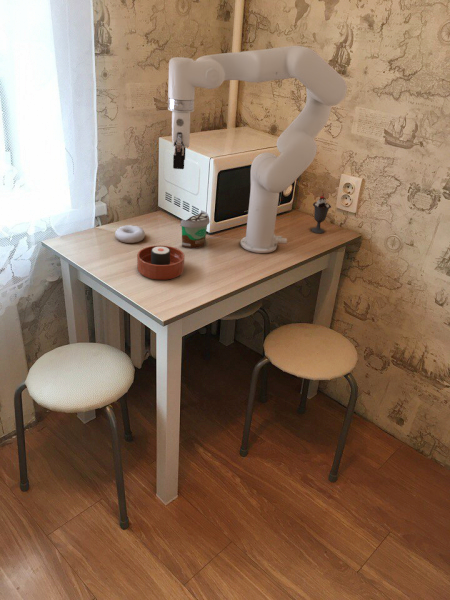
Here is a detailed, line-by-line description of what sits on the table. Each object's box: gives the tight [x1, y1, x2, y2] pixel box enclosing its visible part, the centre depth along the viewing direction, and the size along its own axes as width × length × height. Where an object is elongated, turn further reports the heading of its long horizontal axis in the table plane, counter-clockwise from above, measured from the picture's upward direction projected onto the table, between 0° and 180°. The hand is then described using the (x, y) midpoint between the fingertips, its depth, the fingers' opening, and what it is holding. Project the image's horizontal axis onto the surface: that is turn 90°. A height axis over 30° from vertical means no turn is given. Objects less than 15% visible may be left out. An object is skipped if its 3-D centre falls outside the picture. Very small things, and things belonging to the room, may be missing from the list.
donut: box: [114, 224, 146, 244], centre depth 174 cm, size 10×4×10 cm
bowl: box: [136, 244, 185, 281], centre depth 155 cm, size 14×14×5 cm
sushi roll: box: [151, 246, 170, 265], centre depth 154 cm, size 6×6×6 cm
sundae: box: [310, 190, 332, 234], centre depth 190 cm, size 7×7×15 cm
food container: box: [180, 210, 211, 249], centre depth 172 cm, size 12×6×10 cm, turn 148°
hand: (179, 164), depth 156 cm, fingers open, 9 cm apart
